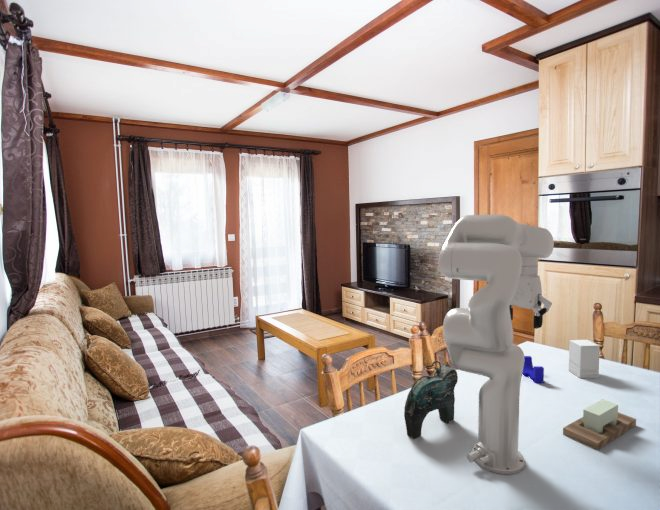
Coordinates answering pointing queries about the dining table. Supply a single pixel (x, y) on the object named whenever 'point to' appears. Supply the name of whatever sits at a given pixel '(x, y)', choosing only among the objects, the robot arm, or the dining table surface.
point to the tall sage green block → (600, 415)
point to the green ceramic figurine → (430, 398)
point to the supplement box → (584, 358)
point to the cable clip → (533, 370)
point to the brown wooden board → (595, 439)
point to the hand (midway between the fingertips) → (522, 324)
